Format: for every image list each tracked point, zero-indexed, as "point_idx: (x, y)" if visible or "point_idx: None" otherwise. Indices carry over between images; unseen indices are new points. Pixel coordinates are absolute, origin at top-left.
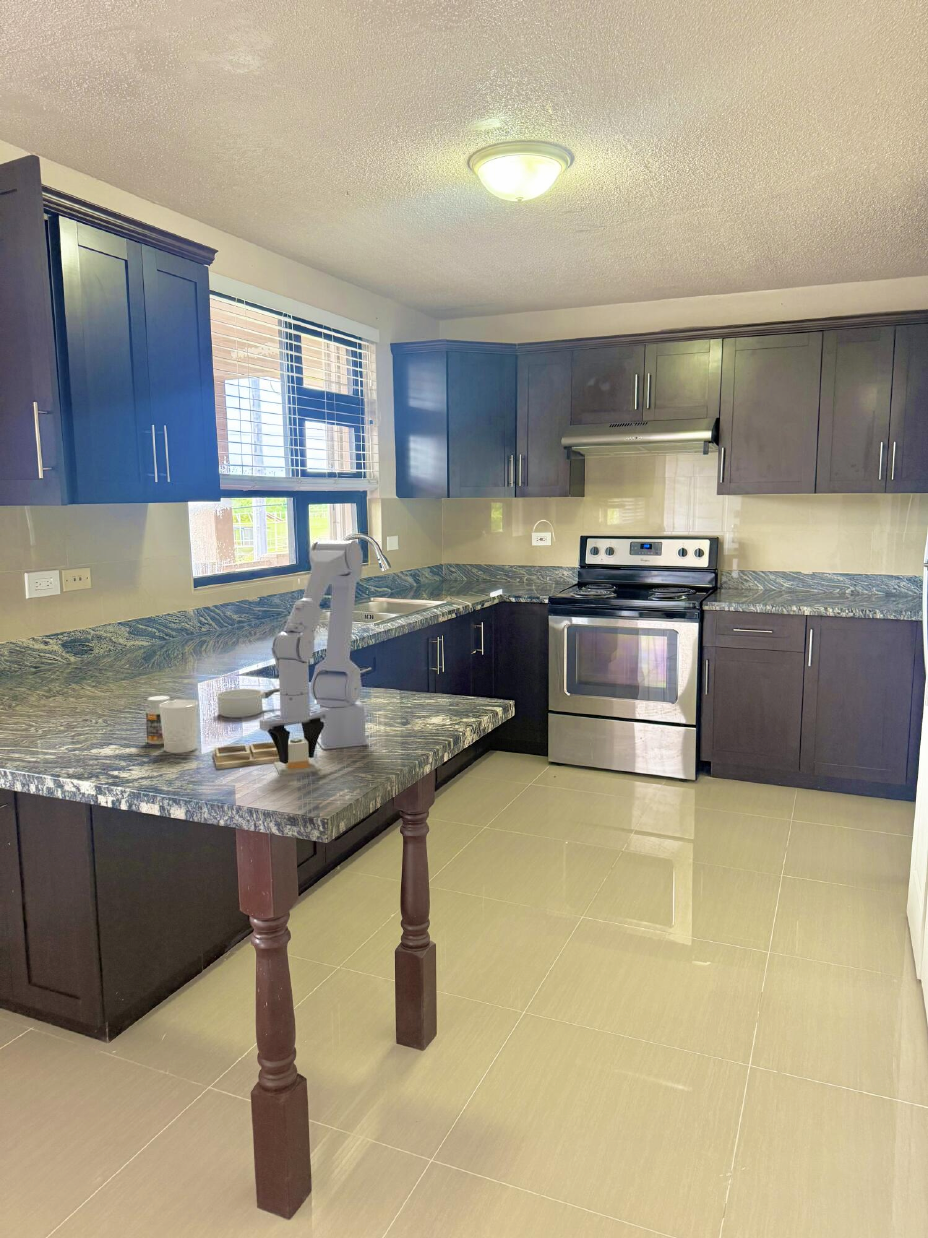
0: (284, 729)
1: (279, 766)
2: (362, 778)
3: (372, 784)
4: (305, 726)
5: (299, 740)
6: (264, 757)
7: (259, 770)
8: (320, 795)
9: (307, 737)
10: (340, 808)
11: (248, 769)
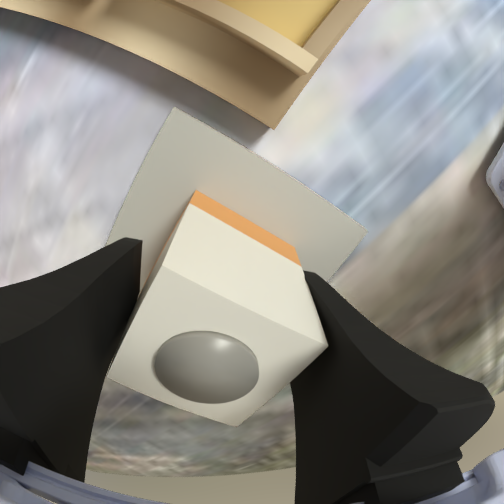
0: (52, 468)
1: (144, 201)
2: (270, 447)
3: (248, 467)
4: (355, 437)
5: (216, 394)
6: (163, 28)
7: (67, 141)
8: (118, 442)
9: (322, 377)
10: (118, 473)
11: (46, 87)
